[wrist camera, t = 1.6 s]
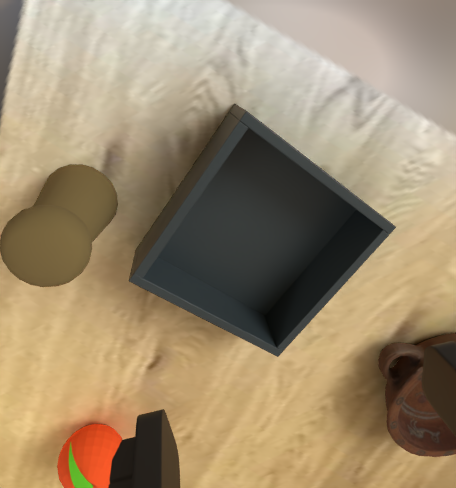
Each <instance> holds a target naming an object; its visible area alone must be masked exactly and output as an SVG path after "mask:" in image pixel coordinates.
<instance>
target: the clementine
mask: <svg viewBox="0 0 456 488" xmlns="http://www.w3.org/2000/svg"><path fill="white" fill-rule="evenodd" d="M121 441H122V438H121V436H120V435H119V434H118V433H117V432H116V431H115V430H114V429H113V428H111V427H109V426H106V425H102V424H92V425H88V426H85V427H83V428H81V429H79V430H78V431H76V432H75V433H74V434H72V435H71V436H70V438H69V439H68V440H67V441H66V443H65V444H64V445H63V448H62V450H61V452H60V455H59V459H58V466H57V468H58V474H59V480H60V482H61V483H62V485H63V487H64V488H108V487H109V484H110V481H109V479H110V472H111V464H112V459H113V457H114V455H115V453H116V451H117V449H118V447H119V445H120V443H121Z"/></svg>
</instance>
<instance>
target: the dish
mask: <svg viewBox="0 0 456 488" xmlns="http://www.w3.org/2000/svg"><path fill="white" fill-rule="evenodd" d="M449 341H454V342H456V333H450V334H445V335H440V336H437V337H434V338H431V339H428V340H426V341H423V342H421V343H419V344H417V345H416V346H415V345H412V344H408V343H392V344H390V345H387V346H386V347H385V348H384V349H383V350H382V351H381V353H380V356H379V359H378V362H379V368H380V370H381V372H382V374H383V376H384V377H385V379H386V380H387V384H386V391H385V396H386V406H387V411H388V413H387V427H388V431H389V433H390V435H391V436H392V438H393V440H394V441H395V442H396V443H397V444H398V445H399V446H401V447H402V448H404V449H405V450H406V451H408V452H410V453H412V454H415V455H418V456H432V457H440V456H449V455H454V454H456V437H455V435H454V434H453V433H452V431H451V430H450V429H449V428H448V426H447V425H446V424H445V423H444V421H443V420H442V419H441V417H440V416H439V415H438V414H437V412H436V411H435V410H434V408H433V407H432V406H431V405H430V403H429V402H428V400H427V398H426V397H425V394H424V392H423V388H422V372H423V363H424V354H425V349H426V348H427V347H428V346H432V345H436V344H440V343H445V342H449ZM400 356H402V357H401V359H400V360H399V361H398V362H397V363H396V364H395V365H394V367H392V368H389V365H390V363H391V362H392V361H393V360H394V359H396V358H398V357H400Z"/></svg>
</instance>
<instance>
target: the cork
mask: <svg viewBox="0 0 456 488" xmlns="http://www.w3.org/2000/svg"><path fill="white" fill-rule="evenodd" d="M117 206H118V201H117V193H116V191H115V189H114V187H113V185H112V183H111V182H110V181H109V179H108V178H107V177H106V176H105V175H104V174H102V173H101V172H99V171H98V170H96V169H94V168H92V167H88V166H85V165H67V166H64V167H61V168H59V169H57V170H56V171H55V172H54V173H52V174H51V175H50V176H49V178H48V180H47V181H46V183H45V185H44V187H43V189H42V190H41V192H40V194H39V196H38V198H37V200H36V202H35V203H34V205H33V207H31V208H28V209H25V210H22V211H21V212H19V213H18V214H17V215H16V216H14V217H13V218H12V219H11V220H9V221H8V223H7V225H6V226H5V228H4V230H3V232H2V235H1V240H0V252H1V255H2V259H3V261H4V263H5V264H6V266H7V267H8V269H9V270H10V272H11V273H13V274H14V275H15V276H16V277H17V278H19V279H20V280H22V281H24V282H26V283H28V284H30V285H35V286H40V287H52V286H60V285H63V284H66V283H69V282H70V281H72V280H73V279H74V278H76V277H77V276H78V275H80V274H81V273H82V272H83V270H84V269H85V267H86V266H87V264H88V262H89V260H90V256H91V251H92V244H91V243H92V242H93V241H94V239H95V238H96V237H97V236H98V235H99V234H100V233H101V232H102V231H103V229H104V228H105V227H106V226H107V225H108V224H109V223H110V221H111V220H112V218H113V217H114V215H115V214H116V210H117Z"/></svg>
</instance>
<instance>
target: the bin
mask: <svg viewBox="0 0 456 488" xmlns="http://www.w3.org/2000/svg"><path fill="white" fill-rule="evenodd" d="M395 228H396V227H395V226H394V225H393V224H392V223H390V222H389V221H388V220H387V219H385V218H384V217H383V216H381V215H380V214H379V213H378V212H376V211H375V210H374V209H372V208H371V207H370V206H368V205H367V204H366V203H365V202H363V201H362V200H361V199H359V198H358V197H357V196H356V195H354V194H353V193H352V192H350V191H349V190H348V189H347V188H345V187H344V186H343V185H341V184H340V183H339V182H338V181H336V180H335V179H334V178H332V177H331V176H330V175H329V174H327V173H326V172H325V171H323V170H322V169H321V168H320V167H318V166H317V165H316V164H314V163H313V162H312V161H311V160H309V159H308V158H307V157H305V156H304V155H303V154H301V153H300V152H299V151H298V150H296V149H295V148H294V147H292V146H291V145H290V144H289V143H287V142H286V141H285V140H283V139H282V138H281V137H280V136H278V135H277V134H276V133H274V132H273V131H272V130H271V129H269V128H268V127H267V126H265V125H264V124H263V123H262V122H260V121H259V120H258V119H256V118H255V117H254V116H253V115H251V114H250V113H249V112H247V111H246V110H244V109H243V108H241V107H239V106H238V105H236V104H234V106H233V107H232V109H231V110H230V112H229V113H228V114H227V116H226V117H225V119H224V120H223V122H222V123H221V125H220V126H219V128H218V129H217V131H216V132H215V134H214V135H213V137H212V138H211V140H210V141H209V143H208V144H207V145H206V147H205V148H204V150H203V151H202V153H201V154H200V156H199V157H198V159H197V160H196V162H195V163H194V165H193V166H192V168H191V169H190V171H189V172H188V174H187V175H186V177H185V178H184V179H183V181H182V182H181V184H180V185H179V187H178V188H177V190H176V191H175V193H174V194H173V196H172V197H171V199H170V200H169V202H168V203H167V205H166V206H165V208H164V209H163V210H162V212H161V213H160V215H159V216H158V218H157V219H156V221H155V222H154V224H153V225H152V227H151V228H150V230H149V231H148V233H147V234H146V236H145V237H144V239H143V240H142V241H141V243H140V244H139V246H138V247H137V249H136V250H135V255H134V259H133V264H132V269H131V273H130V278H129V282H131V283H133V284H135V285H137V286H139V287H141V288H143V289H145V290H147V291H149V292H151V293H153V294H155V295H157V296H159V297H161V298H163V299H165V300H167V301H169V302H171V303H173V304H175V305H177V306H179V307H181V308H183V309H185V310H187V311H189V312H191V313H193V314H194V315H196V316H198V317H200V318H202V319H204V320H206V321H208V322H210V323H212V324H214V325H216V326H218V327H220V328H222V329H224V330H226V331H228V332H230V333H232V334H234V335H236V336H238V337H240V338H242V339H244V340H246V341H248V342H250V343H252V344H254V345H256V346H258V347H260V348H262V349H264V350H266V351H268V352H270V353H271V354H273V355H275V356H277V357H278V356H279V355H280V354H281V353H282V352H283V351H284V350H285V349H286V347H287V346H288V345H289V344H290V343H291V342H292V341H293V340H294V339H295V338H296V336H297V335H298V334H299V333H300V332H301V331H302V330H303V329H304V328H305V327H306V326H307V324H308V323H309V322H310V321H311V320H312V319H313V318H314V317H315V316H316V315H317V313H318V312H319V311H320V310H321V309H322V308H323V307H324V306H325V305H326V304H327V303H328V301H329V300H330V299H331V298H332V297H333V296H334V295H335V294H336V293H337V292H338V290H339V289H340V288H341V287H342V286H343V285H344V284H345V283H346V282H347V281H348V279H349V278H350V277H351V276H352V275H353V274H354V273H355V272H356V271H357V270H358V269H359V267H360V266H361V265H362V264H363V263H364V262H365V261H366V260H367V259H368V258H369V256H370V255H371V254H372V253H373V252H374V251H375V250H376V249H377V248H378V247H379V246H380V244H381V243H382V242H383V241H384V240H385V239H386V238H387V237H388V236H389V234H390V233H391V232H392V231H393V230H394V229H395Z"/></svg>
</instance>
